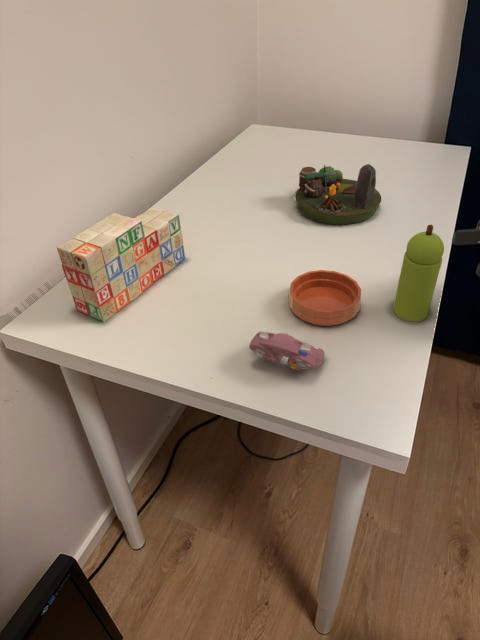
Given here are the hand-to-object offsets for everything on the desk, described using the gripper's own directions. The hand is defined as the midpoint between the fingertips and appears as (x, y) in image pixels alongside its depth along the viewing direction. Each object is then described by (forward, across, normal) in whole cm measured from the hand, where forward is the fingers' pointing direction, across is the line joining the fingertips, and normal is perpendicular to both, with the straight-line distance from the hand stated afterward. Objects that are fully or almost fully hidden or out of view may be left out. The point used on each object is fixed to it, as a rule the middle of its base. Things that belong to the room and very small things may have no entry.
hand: (465, 252), depth 69 cm
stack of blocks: (+51, -12, +10) cm, 53 cm away
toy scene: (+10, -37, +10) cm, 40 cm away
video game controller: (+27, +10, +10) cm, 30 cm away
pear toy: (+6, 0, +10) cm, 12 cm away
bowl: (+19, -3, +10) cm, 22 cm away
